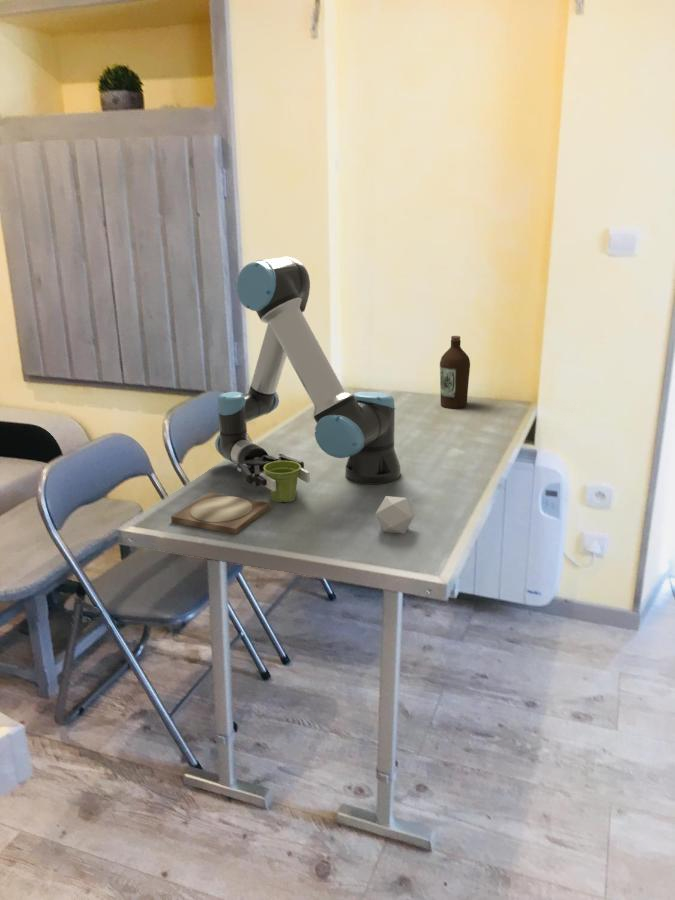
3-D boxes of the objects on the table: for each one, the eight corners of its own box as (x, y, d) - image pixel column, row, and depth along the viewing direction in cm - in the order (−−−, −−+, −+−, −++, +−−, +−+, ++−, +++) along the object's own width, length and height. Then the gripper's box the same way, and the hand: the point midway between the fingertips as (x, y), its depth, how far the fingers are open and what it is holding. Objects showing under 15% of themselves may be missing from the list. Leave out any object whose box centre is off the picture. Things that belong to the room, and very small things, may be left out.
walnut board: (270, 508, 186) (269, 501, 185) (235, 534, 172) (235, 527, 172) (209, 497, 193) (208, 491, 193) (171, 522, 180) (171, 515, 179)
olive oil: (451, 399, 278) (453, 332, 269) (474, 405, 270) (477, 336, 262) (432, 405, 271) (434, 336, 263) (455, 411, 263) (458, 340, 255)
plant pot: (282, 488, 198) (281, 457, 195) (309, 496, 193) (308, 465, 190) (257, 499, 192) (255, 468, 189) (284, 508, 186) (282, 476, 183)
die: (418, 527, 176) (399, 490, 177) (423, 524, 167) (403, 485, 169) (387, 542, 175) (368, 505, 176) (390, 540, 166) (371, 501, 168)
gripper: (285, 461, 211) (328, 486, 193) (214, 478, 200) (253, 505, 182) (284, 436, 209) (327, 458, 191) (212, 452, 197) (251, 477, 180)
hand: (291, 481), depth 186 cm, fingers open, 9 cm apart
